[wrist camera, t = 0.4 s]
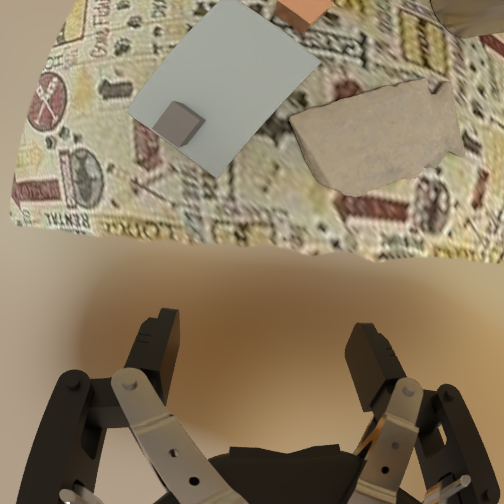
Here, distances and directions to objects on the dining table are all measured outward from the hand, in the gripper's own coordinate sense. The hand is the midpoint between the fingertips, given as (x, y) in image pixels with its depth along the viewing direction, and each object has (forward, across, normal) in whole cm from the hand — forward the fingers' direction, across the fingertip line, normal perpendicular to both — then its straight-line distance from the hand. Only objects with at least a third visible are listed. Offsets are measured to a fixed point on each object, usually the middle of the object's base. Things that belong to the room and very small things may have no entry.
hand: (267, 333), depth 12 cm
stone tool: (+27, -17, -10) cm, 33 cm away
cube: (+26, -3, -24) cm, 36 cm away
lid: (+20, +5, -12) cm, 24 cm away
